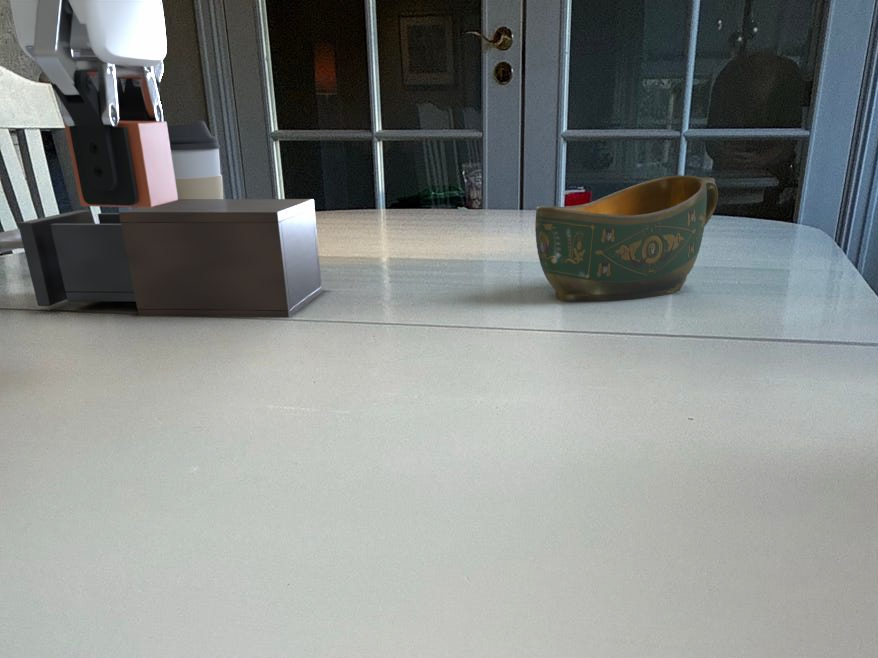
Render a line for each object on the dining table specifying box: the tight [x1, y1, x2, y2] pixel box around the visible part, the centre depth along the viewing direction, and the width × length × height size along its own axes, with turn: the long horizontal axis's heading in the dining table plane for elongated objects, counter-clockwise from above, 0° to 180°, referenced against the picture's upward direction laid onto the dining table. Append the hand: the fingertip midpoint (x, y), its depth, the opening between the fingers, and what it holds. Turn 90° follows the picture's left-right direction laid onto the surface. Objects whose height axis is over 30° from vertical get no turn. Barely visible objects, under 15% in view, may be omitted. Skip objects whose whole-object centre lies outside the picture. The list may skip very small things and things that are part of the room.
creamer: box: [534, 174, 719, 303], centre depth 86 cm, size 13×20×10 cm, turn 98°
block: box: [64, 120, 178, 208], centre depth 55 cm, size 4×4×4 cm
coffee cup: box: [167, 120, 224, 199], centre depth 96 cm, size 9×9×15 cm
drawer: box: [0, 209, 136, 307], centre depth 83 cm, size 18×11×7 cm, turn 85°
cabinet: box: [118, 198, 323, 318], centre depth 82 cm, size 14×13×9 cm
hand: (129, 196), depth 56 cm, fingers closed on block, 4 cm apart
